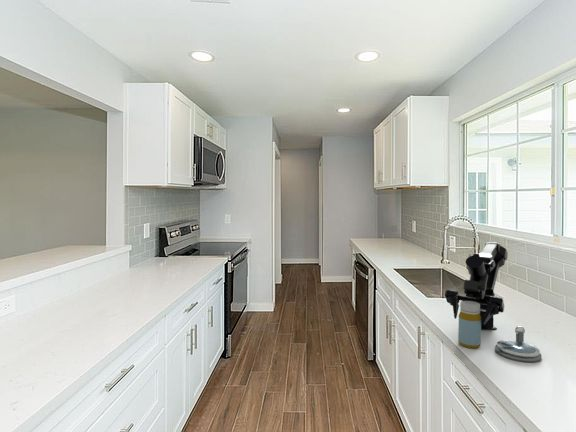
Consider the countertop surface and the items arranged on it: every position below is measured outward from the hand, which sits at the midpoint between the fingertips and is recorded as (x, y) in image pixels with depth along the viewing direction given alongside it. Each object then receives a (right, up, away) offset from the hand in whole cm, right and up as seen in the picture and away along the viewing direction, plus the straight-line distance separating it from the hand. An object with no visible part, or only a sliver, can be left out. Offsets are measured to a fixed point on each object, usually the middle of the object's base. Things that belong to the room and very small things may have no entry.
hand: (468, 320), depth 126 cm
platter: (+13, -8, -6) cm, 16 cm away
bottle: (+1, -9, +1) cm, 9 cm away
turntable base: (+13, -9, -6) cm, 17 cm away
